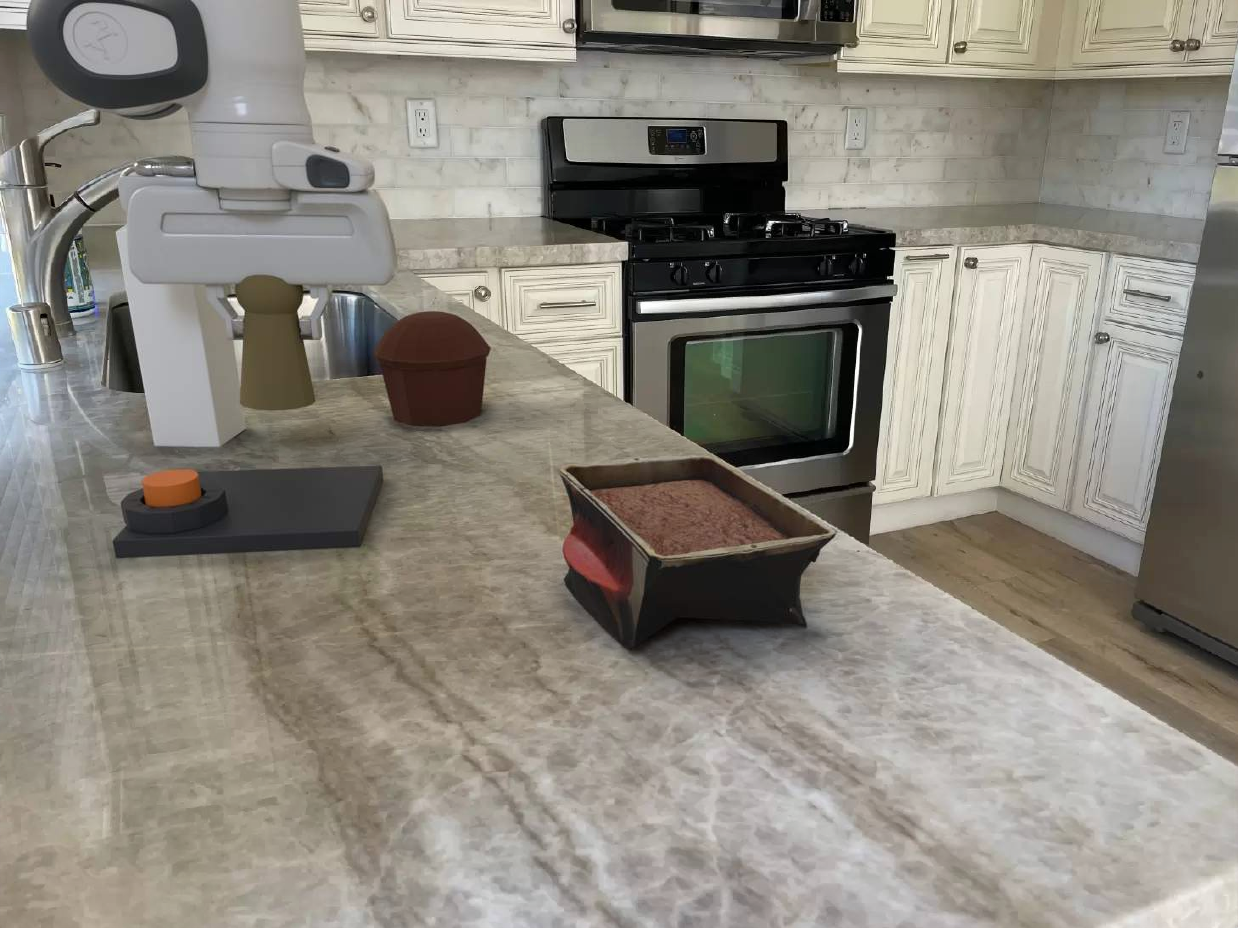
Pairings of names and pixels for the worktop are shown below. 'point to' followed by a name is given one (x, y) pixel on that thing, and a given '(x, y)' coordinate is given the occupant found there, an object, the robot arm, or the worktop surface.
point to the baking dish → (683, 545)
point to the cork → (273, 346)
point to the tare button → (171, 487)
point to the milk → (183, 362)
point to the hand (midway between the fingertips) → (276, 338)
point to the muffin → (433, 368)
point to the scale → (255, 513)
